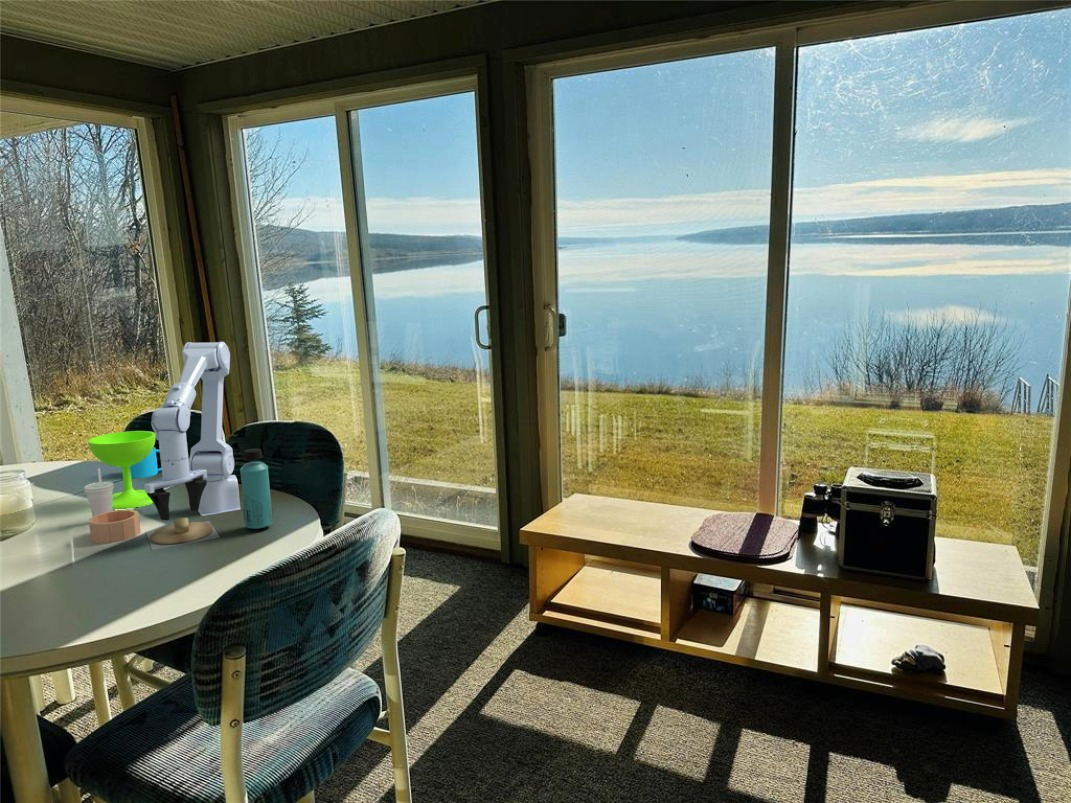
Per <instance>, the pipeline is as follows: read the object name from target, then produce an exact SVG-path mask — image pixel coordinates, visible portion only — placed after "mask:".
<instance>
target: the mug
mask: <svg viewBox="0 0 1071 803" xmlns="http://www.w3.org/2000/svg"><path fill="white" fill-rule="evenodd" d="M157 453H160V449H156V447H155V446H154V447H153V450H152V451H151V452H150V454H149V455H148V456H147V457H146V458H145V459H143V460H142V461H141V462H139V463H136V464H134V465H132V466H130V472H131V479H142V478H143V479H144V478H151V477H154V476H156V475H158V474H159V472H160V471H161V472H162V468H161V467H159V468H158V462H157V461H158V460H157V459H158V458H157ZM157 473H158V474H157Z"/></svg>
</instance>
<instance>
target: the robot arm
mask: <svg viewBox="0 0 1071 803" xmlns="http://www.w3.org/2000/svg"><path fill="white" fill-rule="evenodd" d="M181 354H182V355H181V356H182V361H183V363H184V364H183V368H182V371H181V375H180V377H179V380H178V382H176V383H173V384H172V385H170V386H171V387H170V388H169V390H168V392H167V394H166V397H165V399H164V400H163V403H162V406H160V407H159V408H157V409H155V410H154V411H153V412H152V415H151V422H150V423H151V424H150V425H151V428H152V430H153V432H154V433H155V436H156V437H155V440H157V441H158V445H159V446H158V447H159V450H160V452H159V457H160V465H161V466H160V468H162V470H161V475H162V477H160V478H158V479H155V480H153V481H150V482H147V483H144V485H143V487H144V490H145V492H146V493H147V495H148V496H149V497H150V499H151V500H152V501H153V504H154V506H155V508H156V510H157V512H158V515H159V517H160V520H162V521H169V520H170V496H171V492H168V491H167V490H165V489H169V488H171V487H175V486H179V485H182V484H184V485H185V487H186V490H187V494H188V501H189V502H188V504H189V509H190V510H191V511H196V512H199V514H200V516H201V517H205V516H211V515H216V514H222V513H228V512H233V511H239V510H241V501H240V491H239V490H240V489H239V483H238V482H239V481H238V478H237V475H235V474H232V473H233V471H234V470H235V459H234V452H233V447H231V445H229V444H228V443H226V442H225V441H224V440H223V438H222V437H223V413H224V412H223V410H224V407H223V406H224V380H225V377H227V376H228V375H229V374H230V370H231V369H230V364H231V353H230V349H229V347H228V345H227V344H226V343H225V341H218V342H216V341H215V342H185V344H184V346H183V347H182V350H181ZM200 379H201V380H202V393H201V394H202V397H201V421H200V422H201V423H200V424H201V425H200V427H201V428H200V440H199V442H197V443H196V444H194V445H193V446H191V448H190V455H189V452H188V449H189V448H188V442H187V431H188V429H189V428H190V424H191V414H192V413H191V408H192V406H193V404H194V401H195V399H196V396H197V392H196V390H195V387H196V386H197V384H198V382H199V381H200Z"/></svg>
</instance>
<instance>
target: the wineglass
mask: <svg viewBox="0 0 1071 803" xmlns="http://www.w3.org/2000/svg"><path fill="white" fill-rule="evenodd" d="M155 444H156V436H155V432H154V431H149V430H148V431H146V430H134V431H131V430H130V431H119V432H112V433H107V434H101V435H97V436H94V437H91V438H90V439H88V440H87V445H88V448H89V450H90V452H91V453H92V454H93V456H94V457H95V458H96V459H97V460H99V461H100V462H101V463H103V464H106V465H107V466H112V467H118V468H121V472H122V480H123V487H124V488H123V491H121V492H120V491H119V492H116V493H115V492H114V493H113V495H112V509H127V508H134V509H136V508H135V507H139V508H143V507H147V506H151V505H153V504H154V503H153V501H152V500H151V499H150V497H149V496H148V495H147V493H146V492H145V489H134V488H133V484H132V478H131V472H130V466H132V465H134V464H136V463H139V462H141V461H142V460H143V459H145V458H146V457H147V456H148V455H149V454H150V452H151V451H152V450H153V447H155ZM152 503H153V504H152ZM146 505H147V506H146ZM142 506H143V507H142ZM127 510H128V509H127Z"/></svg>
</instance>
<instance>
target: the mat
mask: <svg viewBox="0 0 1071 803" xmlns="http://www.w3.org/2000/svg"><path fill="white" fill-rule="evenodd" d="M201 522H202V523H208V524H210V525H211V526H212V529H213V531H212V533H211V534H210V535H208V536H207V537H205V538H202V539H200V540H196V541H193V542H189V543H183V544H176V545H161V544H156V543H153V542H152V541H151V535H152V534H153V533H154V532H155V531H157V530H158V529H156V530H151V531H145V534H146V537H147V540H148V543H149V545H150V548H151V551H158V550H159V551H160V550H163V549H169V548H172V547H173V548H174V547H178V546H179V547H180V546H183V545H188V544H195V543H199V542H203V541H210V540H214V539H220V538H221V537H220V535H219V533H218V532H217V530H216V528H215V527H214V526H213V524H212V523H211V521H210V520H206V521H205V520H204V521H201Z"/></svg>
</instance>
